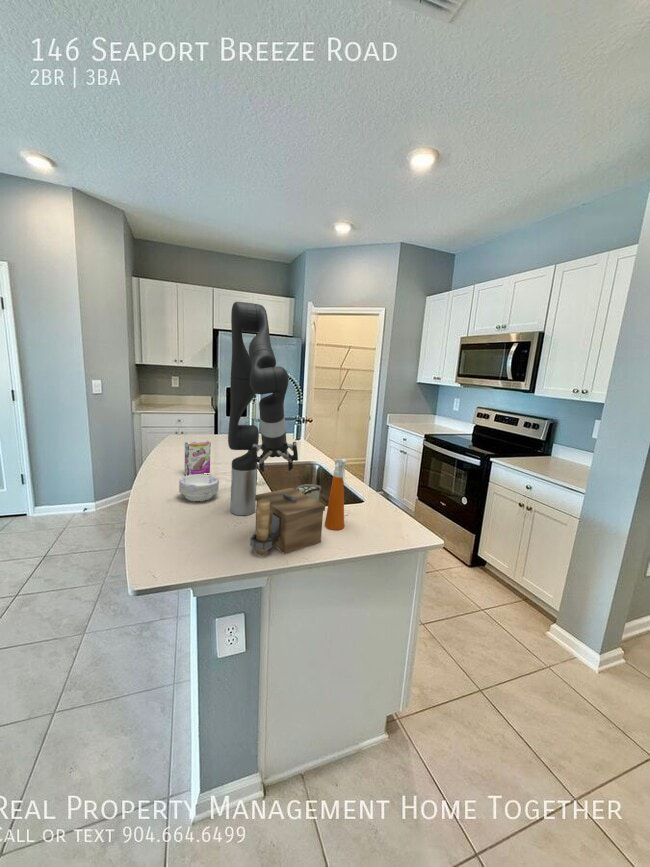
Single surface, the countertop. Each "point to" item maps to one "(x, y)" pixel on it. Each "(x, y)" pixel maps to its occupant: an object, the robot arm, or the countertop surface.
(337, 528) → the spray bottle
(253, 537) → the hasp
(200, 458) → the candy bar box
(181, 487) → the paper bowls
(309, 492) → the food container
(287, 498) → the toolbox
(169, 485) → the countertop surface
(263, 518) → the tan wooden cylinder
